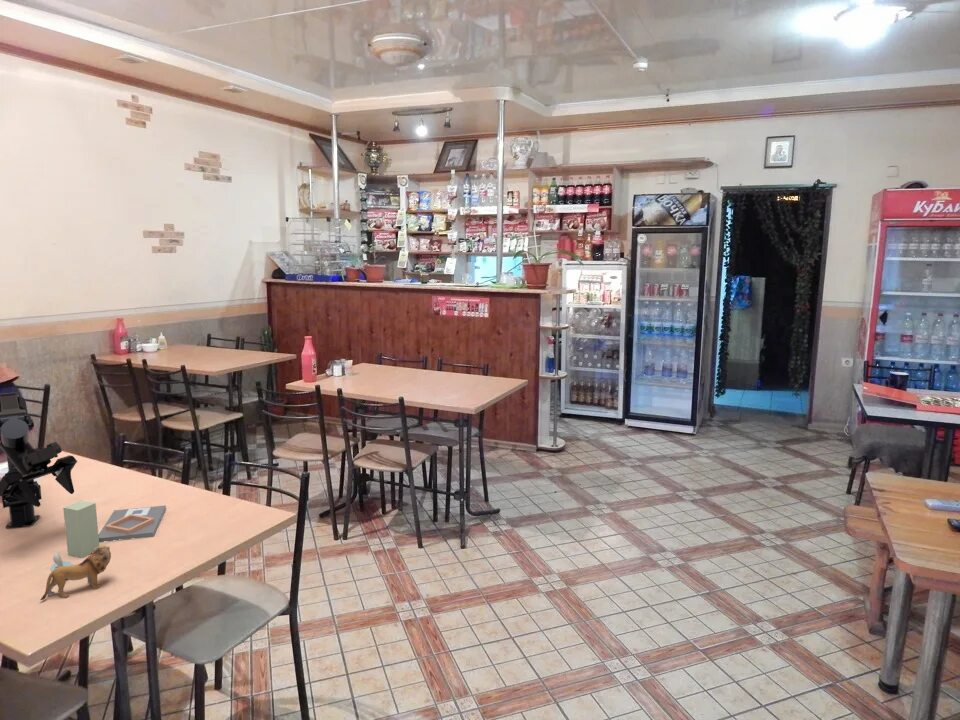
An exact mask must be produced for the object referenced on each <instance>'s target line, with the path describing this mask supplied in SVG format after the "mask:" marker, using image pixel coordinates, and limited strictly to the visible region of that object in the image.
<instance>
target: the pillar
mask: <svg viewBox="0 0 960 720" xmlns="http://www.w3.org/2000/svg"><path fill="white" fill-rule="evenodd" d="M62 509H63V518H64V528H65V529H64V530H65V538H66V549H67V555H68V556H71V557H75V556H76V557H75V558H81V559H85V556H86V557H88V556H89V554H91V553H93V549H95V548H97V547H98V546H100V542H99V536H98V534H99V526H98V517H97V516H98V515H97V505H96V502H92V501H91V502H90V501H85V500H79V501H77V502H73V503H72V504H68V505H67V506H64V507H63V508H62ZM87 555H88V556H87Z"/></svg>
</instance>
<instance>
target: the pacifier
mask: <svg viewBox="0 0 960 720" xmlns="http://www.w3.org/2000/svg"><path fill="white" fill-rule="evenodd" d="M52 559H53V562H54V563H53V564H52V565H51V567H50V573H51V572H52V571H53V570H54V569H56V568H58V567H61V566H72V565H74V564H73V563H71V562H70V561H67V560H63V558H62V556H61V555H60V553H59V552H55V553H54V555H53V558H52Z"/></svg>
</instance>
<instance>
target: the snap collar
mask: <svg viewBox="0 0 960 720" xmlns="http://www.w3.org/2000/svg"><path fill="white" fill-rule="evenodd" d="M131 519H132V520H137V521H143V522H142V523H140V524H138V525H136V526H134V527H132V528H130V529H127V528H122V527H117V526H118V525H120V524H122V523H124V522H126V521H129V520H131ZM152 523H154V518H150V517H144V516H139V515H134V514H130V515H128V516H125V517H123V518H121V519H119V520H117V521H114V522H112V523H110V524H108V525H106V526H105V530H108V531H113V532H118V533H123V534H128V535H129V534H131V533H133V532H135V531H137V530H139V529H141V528H144V527H146V526H148V525H150V524H152Z"/></svg>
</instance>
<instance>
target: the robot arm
mask: <svg viewBox="0 0 960 720" xmlns="http://www.w3.org/2000/svg"><path fill="white" fill-rule="evenodd" d="M19 394H20V393H19V392H4V393H0V438H1V442H0V449H1V450H2V451H3V453H4V454H5V455H6V460H7V469H8V471H7V472H6V473H4V475H3V476H2V477H1V479H0V497H1V500H2V509H5V508H8V512H9V519H10V521H9V522H8V523H7V524H6V525H5V529H8V528H9V529H10V528H19V527H20V528H21V527H30V526H33V525H34V524H35V523H36V522H37V521H38V520H39V518H40V517H41V515H36V514H35V507H37V508H39V507H40V506H41V505H42V503H41V502H40V500H42V488H41V484H39V482H38V480H35V479H38V478H42V477H45V476H48V475H50V474H51V475H52V476H53V477H55V481H56V483H59V485H60V486H61V487H62V488H63V489H65V491H66V492H68V493H69V494H71V495H73V494H74V493H75V489H74V484H73V480H72V470H73V468H74V467H75V466H76V464H77V463H78V460H77V459H76V458H75V457H74V456H73V455H66V456H63V457H60V458H58V457H59V456H58V455H59V454H60V453H62V451H63V449H62V447H61V446H60V444H59V443H58V442H57V441H55V442H50V443H49V444H47V445H46V447H44V448H38V447H37V448H34V447H33V446H32V444H31V443H30V441H29V440H30V439H29V438H30V435H29V432H30V430H32V429H33V428H34V427H35V423H34V419H33V417H31V416H30V414H29V415H28V408H27V399H25V398H23V397H22V396H20V395H19ZM54 458H57V459H56V461H55V462H54V464H52V465H50V464H51V463H52V459H54ZM48 465H50V466H48ZM34 506H35V507H34Z"/></svg>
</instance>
